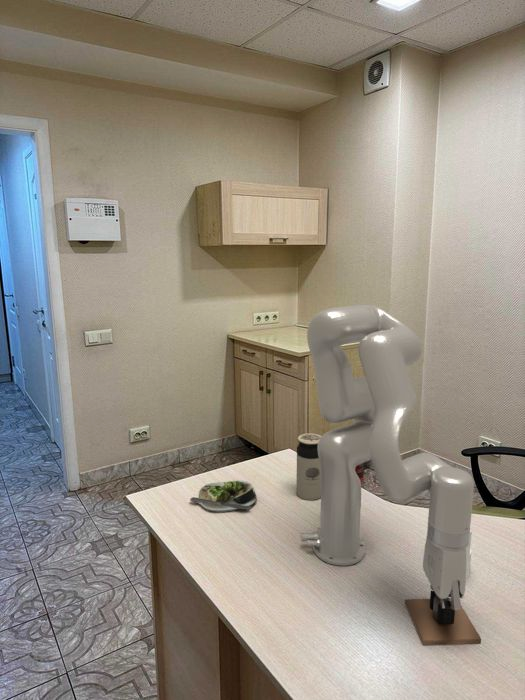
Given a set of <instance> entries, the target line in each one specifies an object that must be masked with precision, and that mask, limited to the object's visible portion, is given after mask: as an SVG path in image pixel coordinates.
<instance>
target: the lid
mask: <svg viewBox="0 0 525 700" xmlns="http://www.w3.org/2000/svg"><path fill="white" fill-rule="evenodd" d="M447 600H451V597H447V598H446V599H445V601H447ZM404 605H405V608H406V610H407V612H408V615H409V617H410V619H411V621H412V623H413V626H414V629H415V630H416V632H417V635H418V637H419V639H420V641H421V644H422V646H436V645H437V646H438V645H443V646H445V645H470V644H471V645H472V644H473V645H474V644H475V645H476V644H481V643H482V638H481V635H480V634H479V633H478V631H477V630H476V628H475V626H474V625H473V622H472V621H471V619H470V618H469V616H468V614H467V613H466V611H465V609H464V608H463V606H462V605H461V610H455V617H454V624H438V623H437V611H438V605H440V598H439V597H438V596H437V595H436V596H435V597H434V604H433V610H431V609H430V598H409V599H408V598H406V599H404Z"/></svg>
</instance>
